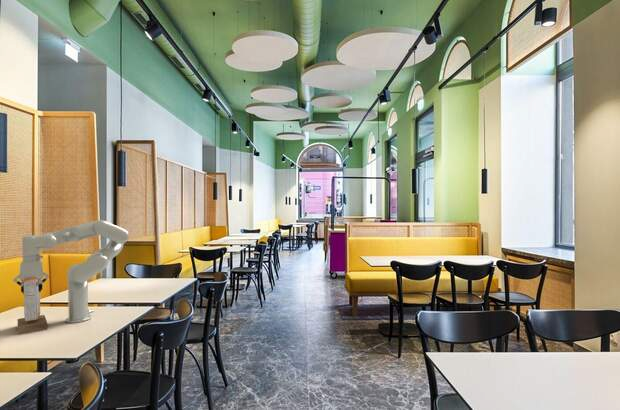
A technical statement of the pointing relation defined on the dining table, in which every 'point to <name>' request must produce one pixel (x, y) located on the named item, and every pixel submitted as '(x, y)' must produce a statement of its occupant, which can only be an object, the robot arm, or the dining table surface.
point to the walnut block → (32, 325)
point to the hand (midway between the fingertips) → (31, 292)
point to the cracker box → (31, 299)
